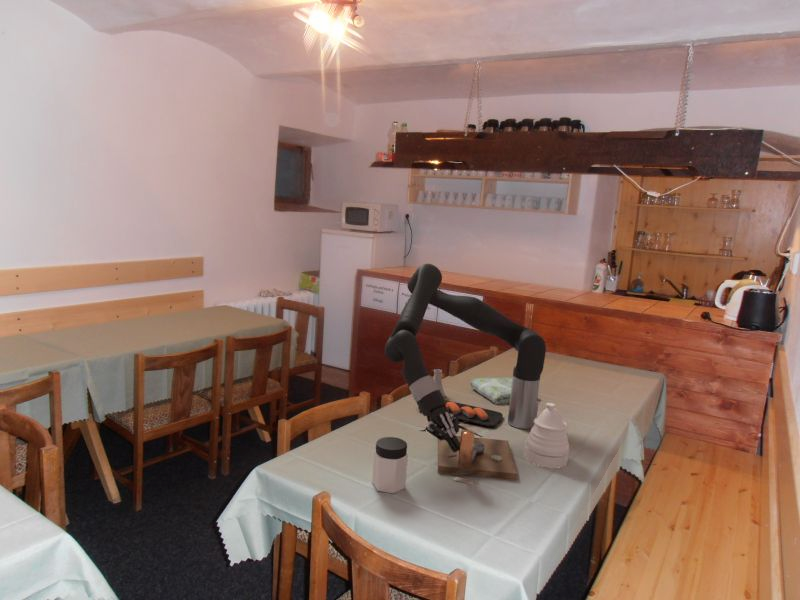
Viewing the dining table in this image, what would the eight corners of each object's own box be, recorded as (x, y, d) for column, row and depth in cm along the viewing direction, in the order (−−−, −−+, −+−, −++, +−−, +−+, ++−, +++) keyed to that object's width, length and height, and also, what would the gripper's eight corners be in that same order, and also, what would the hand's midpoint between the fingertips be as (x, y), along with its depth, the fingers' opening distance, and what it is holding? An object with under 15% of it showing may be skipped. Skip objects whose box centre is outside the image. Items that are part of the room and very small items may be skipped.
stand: (507, 446, 183) (508, 439, 182) (518, 489, 156) (519, 480, 156) (437, 439, 184) (438, 432, 183) (437, 481, 157) (438, 472, 157)
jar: (388, 474, 159) (391, 433, 157) (411, 485, 154) (414, 443, 152) (365, 485, 152) (368, 442, 150) (388, 497, 147) (392, 453, 145)
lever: (469, 446, 175) (472, 409, 173) (485, 449, 173) (489, 412, 171) (453, 473, 157) (457, 432, 155) (471, 477, 156) (475, 436, 153)
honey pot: (560, 472, 167) (568, 414, 164) (518, 459, 174) (524, 403, 171) (572, 457, 178) (580, 402, 175) (532, 445, 185) (539, 392, 182)
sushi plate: (504, 418, 208) (505, 408, 207) (480, 448, 181) (482, 437, 180) (429, 401, 219) (430, 391, 219) (396, 427, 192) (397, 417, 192)
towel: (538, 401, 228) (540, 388, 227) (494, 406, 219) (495, 393, 218) (511, 385, 244) (512, 374, 243) (468, 390, 235) (469, 378, 234)
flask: (443, 399, 221) (445, 374, 219) (425, 396, 222) (427, 371, 220) (446, 393, 228) (448, 369, 226) (428, 390, 229) (430, 366, 227)
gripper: (433, 396, 171) (463, 449, 165) (404, 406, 161) (434, 463, 156) (449, 384, 167) (480, 438, 161) (420, 394, 157) (452, 451, 151)
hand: (458, 450), depth 158 cm, fingers closed
